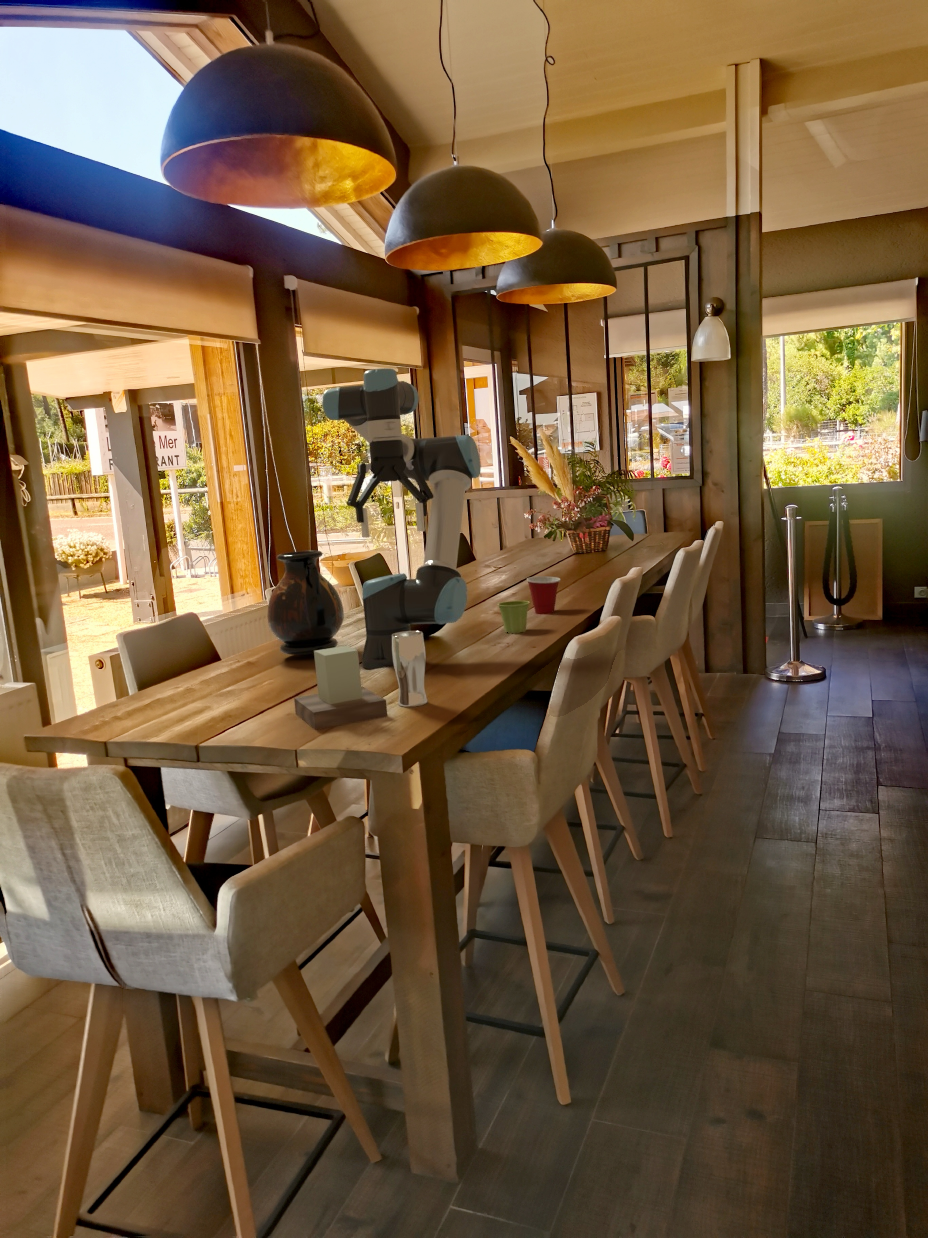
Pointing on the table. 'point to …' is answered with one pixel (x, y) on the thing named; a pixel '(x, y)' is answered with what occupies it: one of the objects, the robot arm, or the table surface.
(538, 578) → the plastic cup
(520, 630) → the plant pot
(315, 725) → the walnut block
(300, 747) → the table surface
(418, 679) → the beer glass
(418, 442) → the robot arm
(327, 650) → the sage block
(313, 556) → the amphora vase
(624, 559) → the table surface
